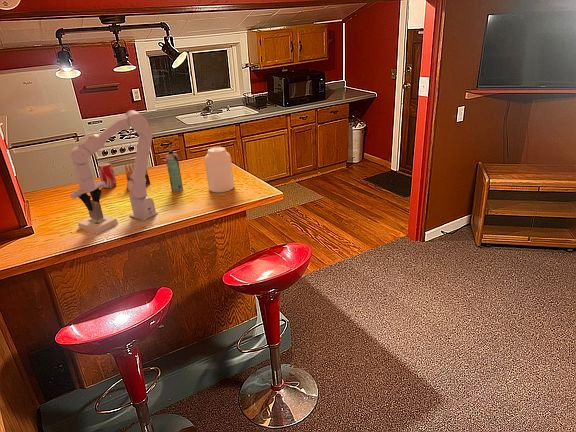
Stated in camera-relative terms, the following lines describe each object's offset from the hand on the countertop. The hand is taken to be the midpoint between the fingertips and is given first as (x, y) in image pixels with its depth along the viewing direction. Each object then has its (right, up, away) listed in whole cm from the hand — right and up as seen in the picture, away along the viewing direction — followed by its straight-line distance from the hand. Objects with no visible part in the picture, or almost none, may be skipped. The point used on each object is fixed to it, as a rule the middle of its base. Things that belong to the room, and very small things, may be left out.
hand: (93, 208), depth 173 cm
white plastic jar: (+47, +10, +35) cm, 59 cm away
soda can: (-12, +12, +45) cm, 48 cm away
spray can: (+25, +10, +36) cm, 45 cm away
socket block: (0, -7, +4) cm, 8 cm away
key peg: (+1, -4, +2) cm, 4 cm away
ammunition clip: (+3, +13, +44) cm, 46 cm away
